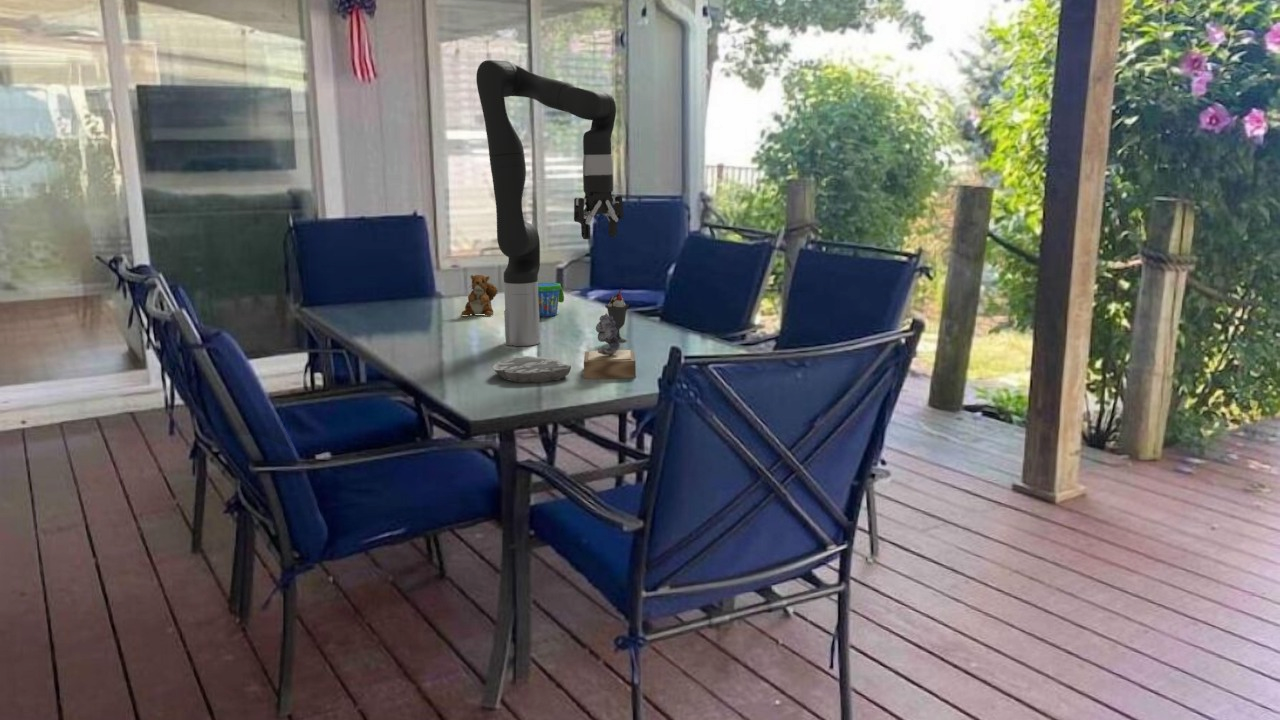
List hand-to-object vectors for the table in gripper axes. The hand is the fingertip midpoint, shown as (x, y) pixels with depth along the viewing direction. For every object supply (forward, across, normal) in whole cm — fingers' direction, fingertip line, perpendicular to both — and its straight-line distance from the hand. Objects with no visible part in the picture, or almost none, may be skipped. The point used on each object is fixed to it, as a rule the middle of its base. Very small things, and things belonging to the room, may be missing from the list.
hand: (599, 237), depth 246 cm
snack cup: (+30, -25, -60) cm, 72 cm away
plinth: (+30, +13, +18) cm, 37 cm away
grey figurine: (+26, +13, +18) cm, 34 cm away
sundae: (+30, -14, -10) cm, 35 cm away
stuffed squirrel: (+30, -13, -78) cm, 85 cm away
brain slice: (+31, +28, +8) cm, 42 cm away
